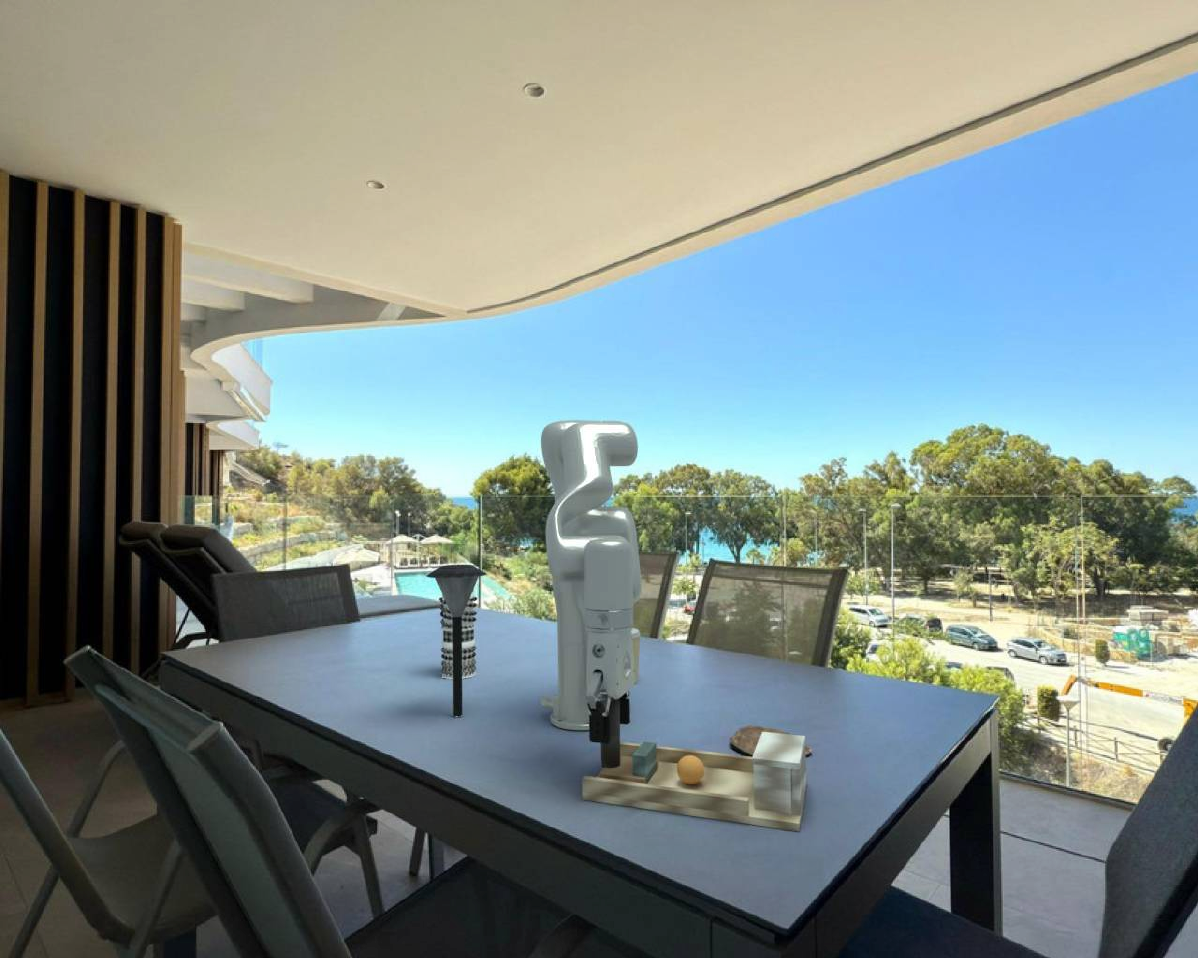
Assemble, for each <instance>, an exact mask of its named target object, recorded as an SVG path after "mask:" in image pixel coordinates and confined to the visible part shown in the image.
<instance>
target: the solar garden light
mask: <svg viewBox="0 0 1198 958" xmlns="http://www.w3.org/2000/svg"><path fill="white" fill-rule="evenodd" d="M487 575H488V573H487V572H485V571H483V570H481V569H480V568H478V567H476V566H474V565H471V564H449V565H448V564H447V565H441V566H439V567H438V568H436V569H434V570H433V571H431V572H429V573H428V574H426V575H425V577H426V578H431V579H435V581H436V583H437V586H438V588H439V590H440V592H441V596H442V595H443V597H444V599H445V601H446V603H447V606H448V608H449V610H450V612H451V614H452V628H453V680H452V716H453V715H454V716H461V715H462V716H463V680H462V615H463V612H464V610H465V608H466V605H467V603H468V601H469V598H470V596H471V594H472V591H473V590H474V589H475V586H476V585H477V582H478V581H479V577H483V576H484V577H485V576H487Z"/></svg>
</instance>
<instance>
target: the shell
mask: <svg viewBox="0 0 1198 958" xmlns="http://www.w3.org/2000/svg"><path fill="white" fill-rule="evenodd" d="M762 732H770V733H780V734H789V735H790V733H789V732H786V731H783V730H780V729H776V728H771V727H769V726H766V727H765V726H763V727H762V726H757V725H752V724H749V725H746V726H741V727H740V728H738V730H737V731H735V733H734V734H733V735H732V736H731V737H730V738H729V742H730V744H729V745H730V748H731V749H733V750H734V751H735V752H737V753H741V755H742V756H749V757H753V754H754V752H755V749H756V746H757V744H758V741H759V739H760V736H761V733H762ZM812 752H813V750H812V748H810V747H809V746H806V745H805V758H806V757H809V756H810V754H811V753H812Z"/></svg>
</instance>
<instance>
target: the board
mask: <svg viewBox="0 0 1198 958" xmlns="http://www.w3.org/2000/svg"><path fill="white" fill-rule="evenodd" d="M641 744H642V743H636V742H635V743H633V742H626V741H625V742H624V741H620V755H621V756H629V757H632V755H633V754H634V752H635V751H636V750H637V749H638V748H639V747H640V745H641ZM805 746H806V736H805V735H797V734H790V733H789V734H780V733H770V732H762V733H761V736H760V739H759V741H758V744H757V746H756V749H755V752H754V754H753V757H749V756H744V755H741V754H740V755H739V754H731V753H730V754H729V753H723V752H721V753H720V752H713V751H706V750H705V751H704V750H696V749H685V748H680V747H679V748H678V747H671V746H670V747H669V746H661V745H656V749H657V760H658V766H659V767H658V768H657V769H656V771H655V772H654V773H653V775H652V776H651V778H650V779H649V780H648V782H647V783H646V784H642V783H635V782H628V781H620V780H613V779H605V778H599V774H598V775H597V776H590V775H584V776H583V777H582V779H581V781H582V800H583V801H584V800H585V801H590V802H597V803H598V802H599V803H603V804H612V805H618V806H622V807H623V806H624V807H631V808H637V809H638V808H639V809H645V810H652V811H656V812H657V811H658V812H663V813H664V812H665V813H671V814H677V815H678V814H679V815H685V816H691V817H692V816H693V817H699V818H706V819H711V820H712V819H713V820H719V821H727V822H732V823H738V824H739V823H740V824H745V825H753V826H759V827H766V828H772V829H779V830H780V829H781V830H787V831H793V832H800V831H801V830H800V829H801V823H802V819H803V818H802V817H803V811H804V805H805V800H806V793H807V787H808V776H807V767H806V765H807V764H806V757H805ZM687 755H693V756H696V757H697V758H699V759H700V760H701V762H702V764H703V766H704V775H703V777H702V779H701V780H700V781H699V782H698V783H696V784H692V785H690V784H686V783H684V782H683V781H682V780H681V779H680V778H679V776H678V773H677V765H678V762H679V761H680V759H681V758H683V757H684V756H687Z"/></svg>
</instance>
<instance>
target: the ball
mask: <svg viewBox="0 0 1198 958" xmlns="http://www.w3.org/2000/svg"><path fill="white" fill-rule="evenodd" d="M677 773H678V776H679V778H680V779H681V780H682V781H683V782H684V783H686V784H690V785H692V784H696V783H698V782H699V781H700V780H701V779H702V777H703V775H704V766H703V764H702V762H701V760H700V759H699V758H697V757H696V756H693V755H687V756H684V757H683V758H681V759H680V761H679V762H678V765H677Z"/></svg>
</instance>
